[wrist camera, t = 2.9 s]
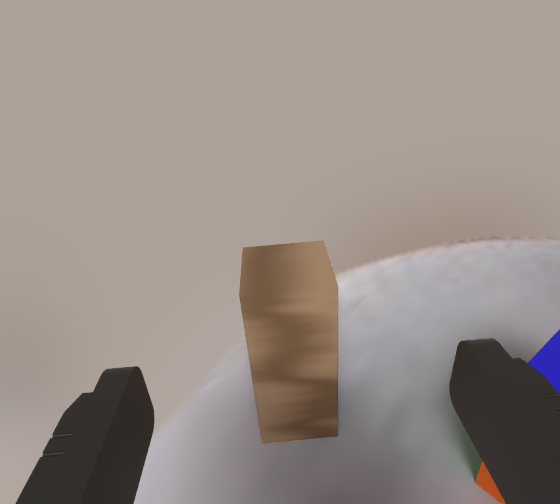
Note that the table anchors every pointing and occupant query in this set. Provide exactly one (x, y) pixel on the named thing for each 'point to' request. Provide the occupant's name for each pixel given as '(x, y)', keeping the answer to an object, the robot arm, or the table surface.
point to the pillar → (292, 339)
